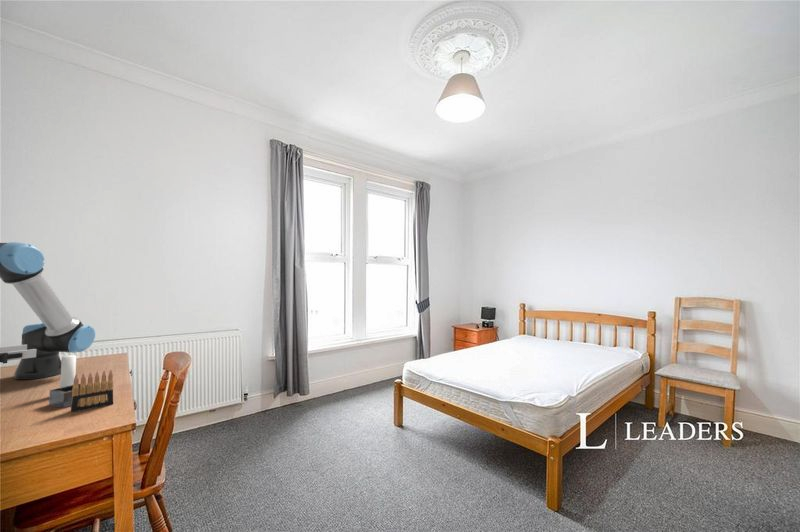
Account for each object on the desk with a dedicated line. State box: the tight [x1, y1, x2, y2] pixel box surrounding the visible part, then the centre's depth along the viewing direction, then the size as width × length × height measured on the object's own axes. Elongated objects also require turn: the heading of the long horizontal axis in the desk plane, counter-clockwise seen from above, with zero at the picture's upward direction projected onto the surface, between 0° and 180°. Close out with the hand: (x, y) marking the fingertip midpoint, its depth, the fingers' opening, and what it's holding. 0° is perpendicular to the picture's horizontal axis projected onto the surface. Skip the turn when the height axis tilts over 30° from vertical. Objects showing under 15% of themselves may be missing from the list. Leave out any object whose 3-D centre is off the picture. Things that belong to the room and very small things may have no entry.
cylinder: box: [59, 354, 77, 388], centre depth 129 cm, size 4×4×14 cm
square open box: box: [48, 383, 87, 409], centre depth 120 cm, size 8×8×5 cm
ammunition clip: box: [70, 369, 114, 413], centre depth 116 cm, size 11×2×12 cm, turn 135°
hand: (31, 350), depth 121 cm, fingers open, 13 cm apart
